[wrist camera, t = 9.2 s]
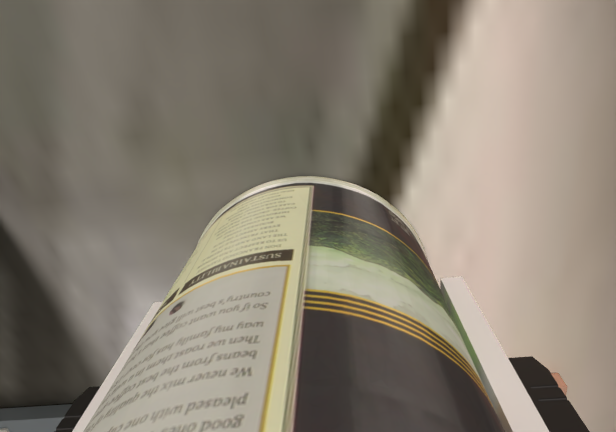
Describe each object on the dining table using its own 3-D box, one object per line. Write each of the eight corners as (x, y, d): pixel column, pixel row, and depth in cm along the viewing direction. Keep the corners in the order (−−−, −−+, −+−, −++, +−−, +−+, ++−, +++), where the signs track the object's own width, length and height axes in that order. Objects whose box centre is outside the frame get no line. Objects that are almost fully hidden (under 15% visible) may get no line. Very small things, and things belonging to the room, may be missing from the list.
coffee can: (448, 177, 15) (1072, 901, 3) (411, 381, 20) (576, 1038, 7) (178, 166, 16) (-495, 782, 3) (199, 369, 20) (-31, 986, 7)
